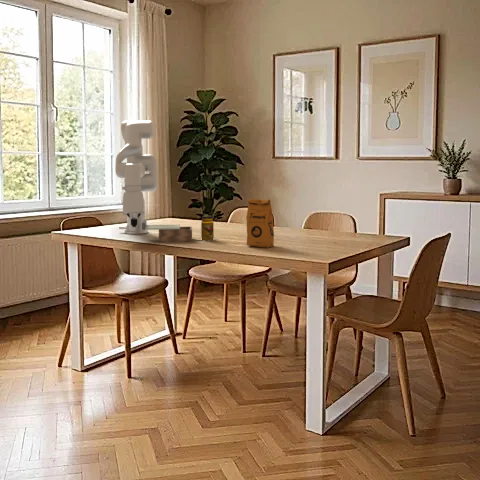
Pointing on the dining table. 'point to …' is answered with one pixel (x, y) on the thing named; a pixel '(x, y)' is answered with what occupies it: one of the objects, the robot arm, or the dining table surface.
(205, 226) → the condiment
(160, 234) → the box
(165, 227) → the lid
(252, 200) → the coffee package
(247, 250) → the dining table surface
